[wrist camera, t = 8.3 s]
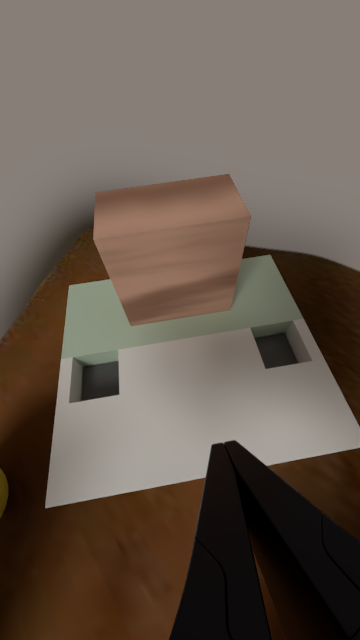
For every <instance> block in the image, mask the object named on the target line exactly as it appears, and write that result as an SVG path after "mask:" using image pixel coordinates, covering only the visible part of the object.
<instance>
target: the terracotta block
mask: <svg viewBox="0 0 360 640" xmlns="http://www.w3.org/2000/svg"><path fill="white" fill-rule="evenodd" d="M250 219H251V215H250V213H249V211H248V210H247V208H246V206H245V204H244V202H243V200H242V198H241V197H240V194H239V193H238V191H237V188H236V187H235V185H234V183H233V181H232V179H231V177H230V175H229V174H226V175H219V176H211V177H205V178H197V179H189V180H182V181H175V182H168V183H160V184H153V185H146V186H139V187H131V188H124V189H117V190H110V191H103V192H96V193H95V215H94V239H93V240H94V242H95V244H96V247H97V249H98V251H99V254H100V256H101V258H102V261H103V263H104V265H105V268H106V270H107V272H108V275H109V277H110V279H111V281H112V284H113V286H114V288H115V291H116V293H117V295H118V298H119V300H120V302H121V305H122V307H123V309H124V312H125V314H126V316H127V319H128V321H129V323H130V326H137V325H143V324H149V323H155V322H161V321H167V320H173V319H179V318H186V317H192V316H198V315H204V314H210V313H216V312H222V311H228V310H230V309H231V305H232V300H233V296H234V291H235V287H236V282H237V278H238V273H239V269H240V264H241V260H242V255H243V251H244V246H245V242H246V237H247V233H248V228H249V224H250Z"/></svg>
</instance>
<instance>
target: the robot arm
mask: <svg viewBox="0 0 360 640" xmlns="http://www.w3.org/2000/svg"><path fill="white" fill-rule="evenodd" d="M252 548H253V551H254V554H255V556H256V559H257V561H258V564H259V566H260V569H261V572H262V574H263V577H264V579H265V582H266V585H267V587H268V590H269V592H270V595H271V597H272V600H273V603H274V605H275V608H276V610H277V613H278V615H279V618H280V621H281V623H282V626H283V628H284V631H285V633H286V636H287V639H288V640H360V542H359V541H358V540H356V539H355V538H354V537H353V536H351V535H350V534H349V533H348V532H346V531H345V530H344V529H343V528H341V527H340V526H339V525H338V524H336V523H335V522H334V521H333V520H332V519H330V518H329V517H328V516H327V515H325V514H322V512H321V511H320V510H319V509H318V508H317V507H316V506H314V505H313V504H312V503H311V502H310V501H308V500H307V499H306V498H305V497H304V496H302V495H301V494H300V493H299V492H298V491H296V490H295V489H294V488H293V487H292V486H290V485H289V484H288V483H287V482H285V481H284V480H283V479H282V478H281V477H279V476H278V475H277V474H276V473H275V472H273V471H272V470H271V469H270V468H269V467H267V466H266V465H265V464H264V463H263V462H261V461H260V460H259V459H258V458H257V457H255V456H254V455H253V454H252V453H250V452H249V451H248V450H247V449H246V448H244V447H243V446H242V445H241V444H240V443H238V442H237V441H236V440H231V441H226V442H224V444H223V443H222V442H221V443H215V444H212V445H211V450H210V456H209V461H208V467H207V472H206V478H205V483H204V489H203V494H202V500H201V506H200V511H199V517H198V522H197V528H196V533H195V540H194V543H193V549H192V554H191V559H190V564H189V569H188V574H187V578H186V582H185V586H184V590H183V593H182V597H181V601H180V605H179V608H178V612H177V615H176V618H175V622H174V625H173V628H172V632H171V635H170V638H169V640H272V638H271V634H270V629H269V625H268V620H267V615H266V611H265V606H264V601H263V597H262V592H261V588H260V583H259V578H258V574H257V569H256V564H255V560H254V555H253V551H252Z"/></svg>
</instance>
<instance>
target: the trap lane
mask: <svg viewBox="0 0 360 640" xmlns="http://www.w3.org/2000/svg"><path fill="white" fill-rule="evenodd" d="M231 440H236V441H237V442H238V443H240V444H241V445H242V446H243V447H244V448H246V449H247V450H248V451H249V452H250V453H252V454H253V455H254V456H255V457H257V458H258V459H259V460H260V461H261V462H263V463H264V464H265V465H266V466H267V465H272V464H278V463H283V462H288V461H293V460H298V459H303V458H309V457H314V456H319V455H324V454H329V453H335V452H340V451H345V450H350V449H355V448H360V427H359V425H358V423H357V421H356V419H355V417H354V415H353V413H352V411H351V410H350V408H349V406H348V404H347V402H346V400H345V398H344V396H343V394H342V392H341V390H340V388H339V386H338V384H337V382H336V381H335V379H334V377H333V375H332V373H331V371H330V369H329V367H328V365H327V363H326V361H325V359H324V357H323V355H322V354H321V352H320V350H319V348H318V346H317V344H316V342H315V340H314V338H313V336H312V334H311V332H310V330H309V328H308V326H307V325H306V323H305V321H304V319H303V317H302V315H301V313H300V311H299V309H298V307H297V305H296V303H295V301H294V299H293V297H292V296H291V294H290V292H289V290H288V288H287V286H286V284H285V282H284V280H283V278H282V276H281V274H280V272H279V270H278V269H277V267H276V265H275V263H274V261H273V259H272V257H271V255H265V256H259V257H252V258H246V259H242V260H241V264H240V269H239V273H238V278H237V282H236V287H235V291H234V296H233V300H232V305H231V309H230V310H228V311H222V312H216V313H210V314H204V315H198V316H192V317H186V318H179V319H173V320H167V321H161V322H155V323H149V324H143V325H137V326H130V323H129V321H128V319H127V316H126V314H125V312H124V309H123V307H122V305H121V302H120V300H119V298H118V295H117V293H116V291H115V288H114V286H113V284H112V281H111V279H109V280H102V281H96V282H89V283H83V284H76V285H70V286H69V292H68V301H67V311H66V320H65V329H64V338H63V347H62V356H61V366H60V375H59V384H58V393H57V402H56V411H55V421H54V430H53V439H52V448H51V457H50V466H49V476H48V485H47V494H46V503H45V508H49V507H55V506H60V505H65V504H70V503H75V502H81V501H86V500H91V499H96V498H101V497H107V496H112V495H117V494H122V493H127V492H132V491H138V490H143V489H148V488H153V487H158V486H164V485H169V484H174V483H179V482H184V481H189V480H195V479H200V478H205V477H206V472H207V467H208V461H209V456H210V450H211V445H212V444H215V443H221V442H222V443H223V444H224V442H226V441H231Z"/></svg>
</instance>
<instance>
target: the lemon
mask: <svg viewBox="0 0 360 640" xmlns="http://www.w3.org/2000/svg"><path fill="white" fill-rule="evenodd" d="M7 499H8V482H7V478H6V476H5V474H4V473H3V471H2V470H1V468H0V518H1V517H2V514H3V512H4V510H5V507H6V504H7Z"/></svg>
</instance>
